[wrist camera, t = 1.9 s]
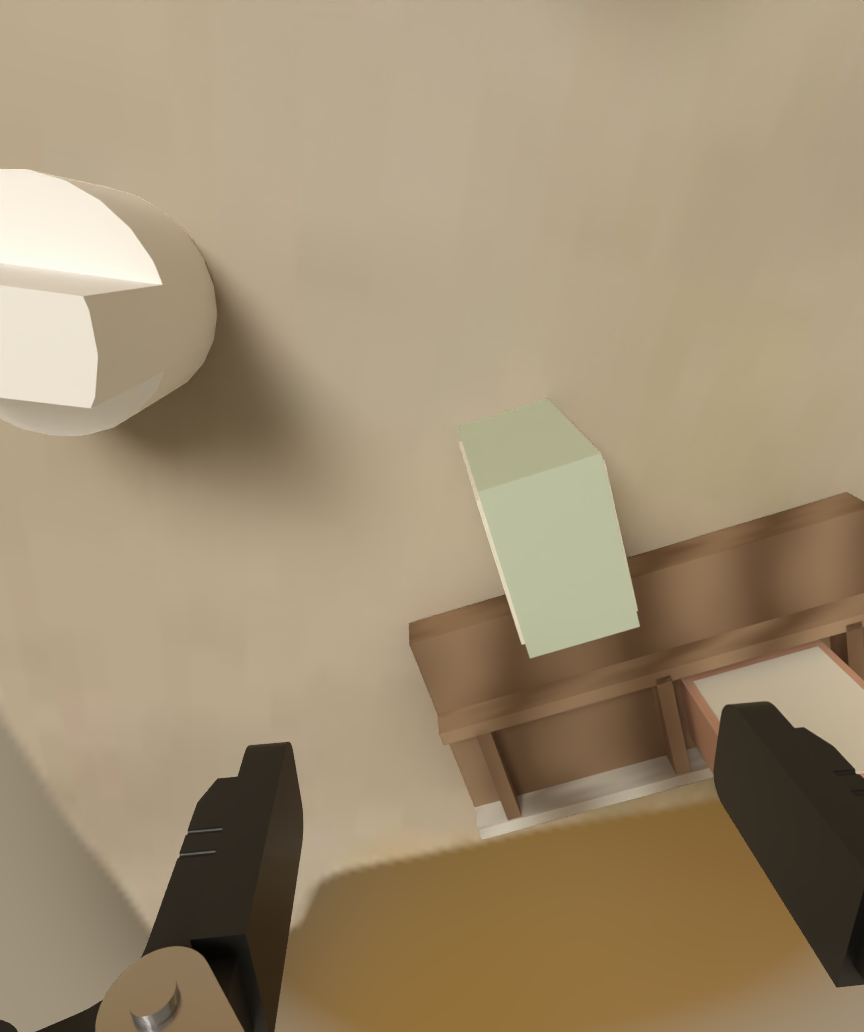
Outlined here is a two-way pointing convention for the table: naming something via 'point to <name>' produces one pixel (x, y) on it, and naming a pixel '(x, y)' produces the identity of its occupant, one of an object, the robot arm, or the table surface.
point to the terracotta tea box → (783, 697)
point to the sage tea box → (550, 526)
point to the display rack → (636, 665)
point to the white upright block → (94, 304)
